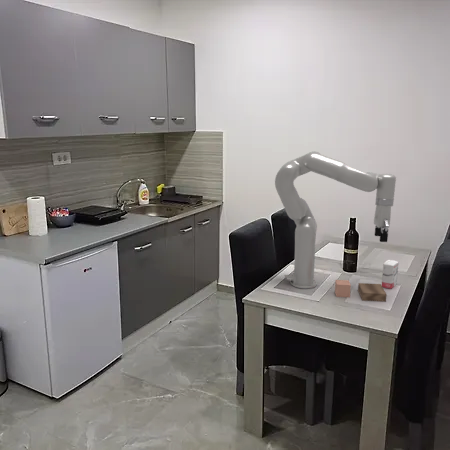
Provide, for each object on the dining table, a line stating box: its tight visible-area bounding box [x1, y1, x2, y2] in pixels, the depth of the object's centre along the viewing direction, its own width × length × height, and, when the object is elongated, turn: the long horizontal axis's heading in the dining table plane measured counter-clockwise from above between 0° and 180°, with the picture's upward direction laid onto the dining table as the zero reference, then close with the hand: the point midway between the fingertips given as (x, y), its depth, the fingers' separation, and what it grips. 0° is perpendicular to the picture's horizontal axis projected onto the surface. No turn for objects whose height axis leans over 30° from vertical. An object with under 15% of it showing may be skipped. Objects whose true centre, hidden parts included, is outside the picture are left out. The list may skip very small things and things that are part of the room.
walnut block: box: [357, 282, 387, 303], centre depth 201 cm, size 10×12×4 cm
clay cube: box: [334, 279, 352, 298], centre depth 203 cm, size 6×6×6 cm
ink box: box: [381, 259, 400, 290], centre depth 213 cm, size 9×5×12 cm, turn 142°
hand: (380, 238), depth 202 cm, fingers open, 9 cm apart
